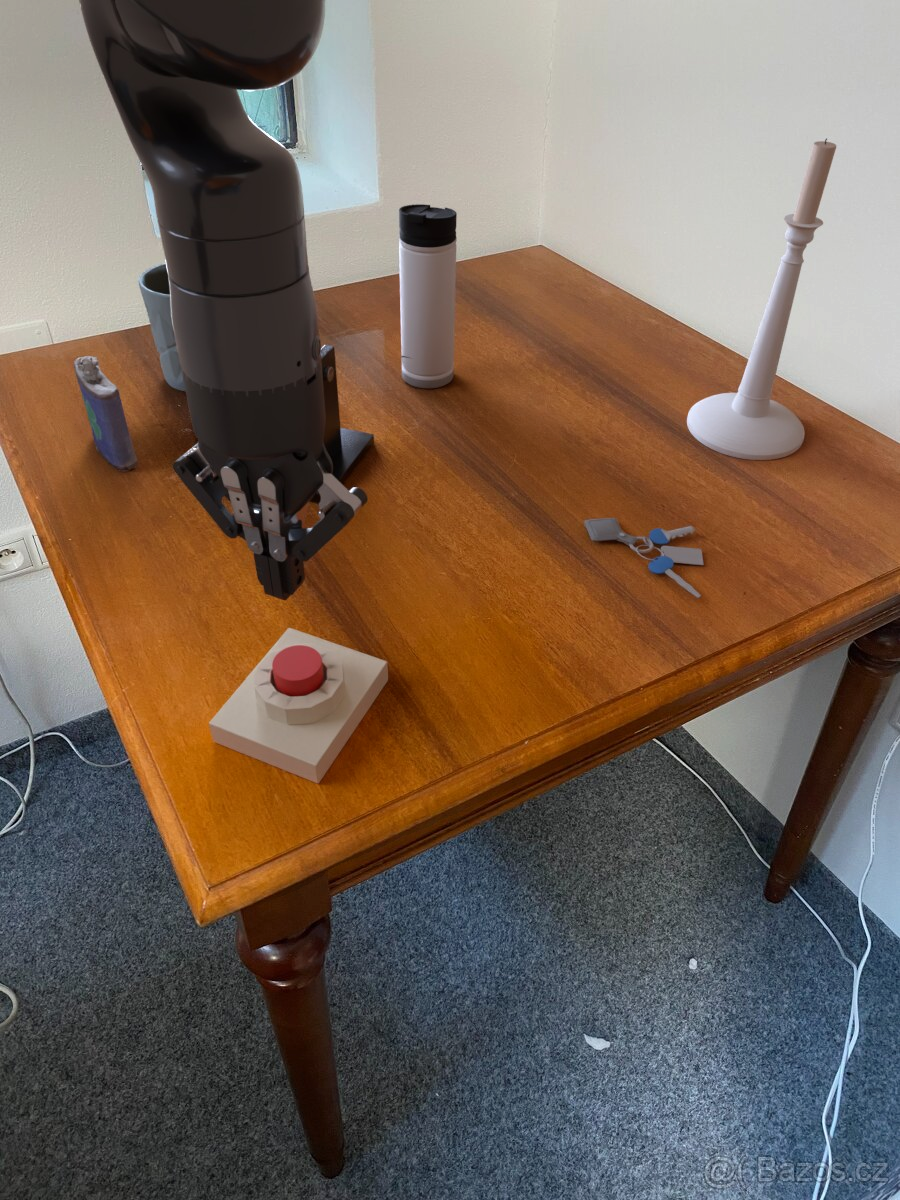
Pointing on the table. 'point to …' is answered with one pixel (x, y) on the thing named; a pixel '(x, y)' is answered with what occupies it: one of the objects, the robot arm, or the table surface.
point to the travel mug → (427, 294)
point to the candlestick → (767, 348)
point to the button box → (300, 709)
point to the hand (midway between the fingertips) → (283, 590)
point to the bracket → (338, 441)
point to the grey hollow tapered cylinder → (162, 321)
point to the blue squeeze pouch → (105, 414)
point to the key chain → (658, 565)
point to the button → (298, 670)
